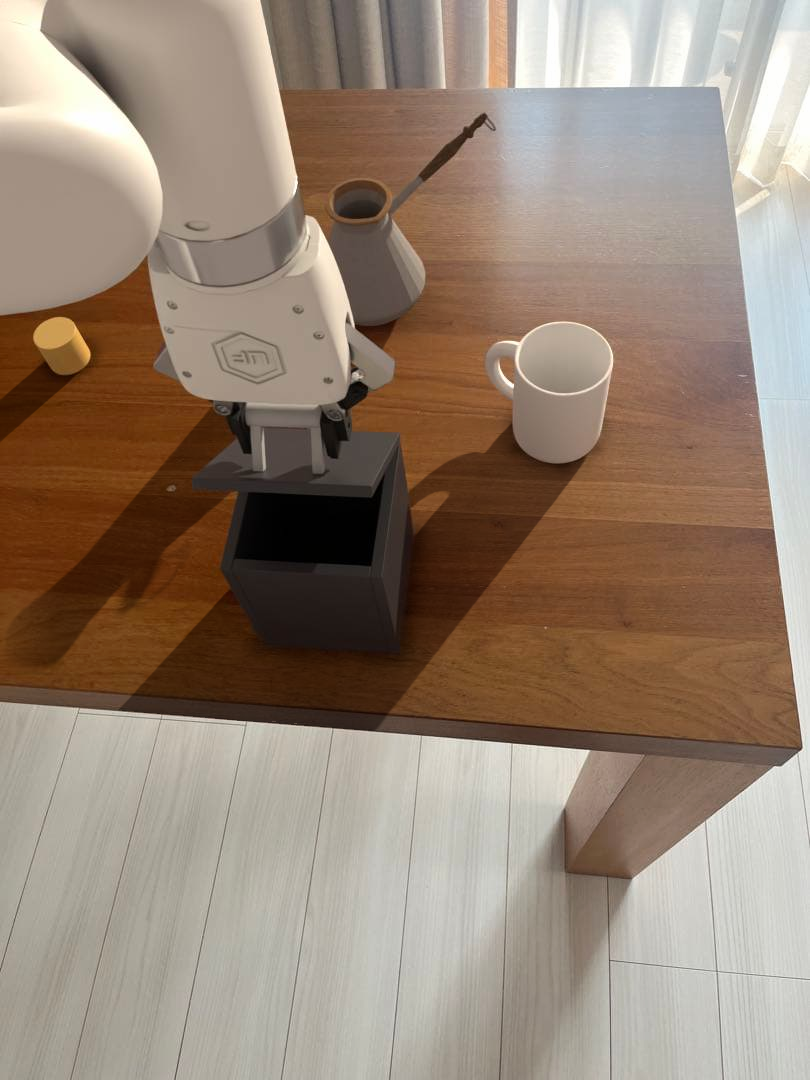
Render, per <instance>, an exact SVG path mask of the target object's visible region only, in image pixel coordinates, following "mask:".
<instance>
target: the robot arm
mask: <svg viewBox="0 0 810 1080" xmlns="http://www.w3.org/2000/svg"><path fill="white" fill-rule="evenodd" d="M261 3H262V1H261V0H0V316H7V315H8V316H9V315H15V314H25V313H33V312H39V311H43V310H50V309H55V308H59V307H61V306H65V305H69V304H74V303H78V302H81V301H84V300H86V299H88V298H91V297H94V296H95V295H99V294H101V293H103V292H105V291H107V290H109V289H111V288H112V287H114V286H116V285H117V284H118V283H120V282H122V281H123V280H125V279H126V278H127V277H129V276H130V275H131V274H132V273H133V272H134V271H135V270H136V269H137V268H139V266H140V265H141V264H142V262H143V261H144V260H145V258H146V257H147V258H146V259H147V266H148V275H149V281H150V287H151V292H152V297H153V301H154V306H155V311H156V314H157V319H158V323H159V327H160V330H161V333H162V336H163V339H164V341H163V343H162V344H161V345H160V347H159V348H158V350H157V353H156V355H155V358H154V362H153V365H152V367H153V369H154V370H155V371H156V372H158V373H160V374H162V375H164V376H166V377H168V378H170V379H172V380H173V381H176V382H178V383H180V384H181V385H182V387H183V388H184V390H185V391H186V392H188V393H189V394H191V395H192V396H195V397H197V398H201V399H205V400H207V401H208V402H210V403H212V410H213V412H215V413H216V414H218V415H220V416H224V418H225V420H226V422H227V424H228V427H229V430H230V432H231V435H233V436H236V439H237V438H238V441H239V443H240V446H241V449H242V451H243V453H244V454H252V446H251V432H250V426H248V425H247V424H246V420H245V407H246V404H247V402H250V403H269V404H295V405H319V407H320V408H321V410H322V412H321V417H320V428H321V432H322V436H323V440H324V444H325V448H326V451H327V455H328V456H330V458H331V459H339V457H340V451H341V446H342V441H350V438H351V433H352V431H353V420H352V419H353V418H352V413H351V409H352V408H353V407H355V406H356V405H359V403H361V402H363V401H364V400H365V399H366V398H367V396H368V393H370V392H375V391H377V390H379V389H381V388H383V387H385V386H387V385H388V384H390V383H392V382H393V380H394V376H395V369H396V363H397V362H396V360H395V359H394V358H393V357H392V356H390V355H389V354H387V353H386V352H385V350H383V349H382V348H381V347H379V346H377V344H375V343H374V342H373V341H371V340H370V339H369V338H367V337H366V336H365V335H364V334H363V333H361V332H360V331H358V330H357V329H356V326H355V325H356V324H354V321H353V316H352V312H351V308H350V304H349V300H348V297H347V294H346V290H345V287H344V283H343V280H342V277H341V274H340V272H339V269H338V266H337V263H336V261H335V258H334V256H333V253H332V251H331V249H330V246H329V244H328V239H327V238H326V236H325V234H324V232H323V230H322V228H321V226H320V223H318V221H317V219H316V218H315V217H313V216H311V215H306V212H305V211H306V210H305V207H304V203H303V197H302V193H301V188H300V183H299V178H298V174H297V170H296V165H295V161H294V155H293V150H292V146H291V141H290V137H289V130H288V127H287V121H286V117H285V112H284V107H283V102H282V97H281V93H280V88H279V83H278V78H277V73H276V70H275V65H274V64H275V63H274V60H273V56H272V51H271V46H270V40H269V35H268V31H267V26H266V21H265V17H264V12H263V7H262V4H261ZM351 364H352V365H353V366H354V367H353V368H352V365H351ZM351 368H352V369H351Z"/></svg>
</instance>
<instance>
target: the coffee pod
mask: <svg viewBox="0 0 810 1080" xmlns="http://www.w3.org/2000/svg"><path fill="white" fill-rule="evenodd" d="M32 339H33V340H32V341H33V343H34V345H35V346H36V348H37V349H38V351H39V352H40V354H41V356H42V357H43V359H44V360H45V362H46V363H47V365H48V366H49V368H50V369H51V371H52V372H54V373H55V374H57V375H60V376H71V375H73V374H76V373H78V372H80V371H81V370H83V369H84V368H85V367H86V366H87V365H88V364H89V362H90V360H91V350H90V348H89V347H88V345H87V343H86V342H85V340H84V337H82V335H81V333H80V331H79V330H78V328H77V325H76V324H75V322H74V321H72V319H70V318H68V317H64V316H58V317H57V316H55V317H52V318H49V319H46V320H45V321H43V322H42V323H40V324H39V325H38V326H37V327H36V329H35V330H34V331H33V336H32Z"/></svg>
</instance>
